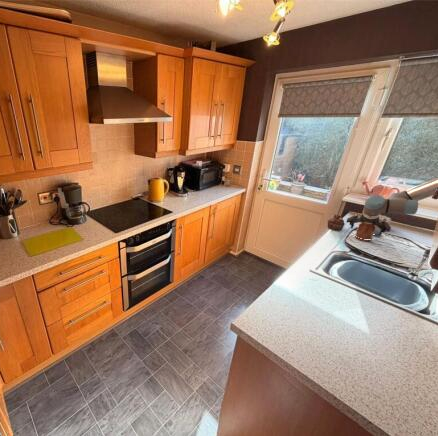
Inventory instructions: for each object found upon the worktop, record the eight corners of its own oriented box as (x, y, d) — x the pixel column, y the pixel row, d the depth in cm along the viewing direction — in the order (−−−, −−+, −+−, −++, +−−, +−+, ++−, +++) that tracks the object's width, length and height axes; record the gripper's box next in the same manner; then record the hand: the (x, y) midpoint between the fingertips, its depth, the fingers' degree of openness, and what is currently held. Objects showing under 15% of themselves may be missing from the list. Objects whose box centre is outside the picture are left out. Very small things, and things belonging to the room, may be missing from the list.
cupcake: (344, 232, 158) (349, 218, 154) (327, 230, 162) (331, 216, 158) (340, 227, 166) (345, 214, 162) (324, 225, 170) (328, 212, 166)
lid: (367, 230, 160) (368, 228, 159) (382, 235, 153) (383, 232, 153) (361, 232, 157) (362, 230, 156) (376, 237, 150) (377, 235, 149)
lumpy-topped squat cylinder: (387, 227, 165) (392, 215, 162) (387, 233, 156) (392, 221, 153) (368, 223, 171) (372, 212, 168) (367, 228, 163) (371, 217, 159)
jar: (374, 240, 146) (380, 223, 142) (365, 242, 144) (371, 225, 140) (360, 235, 154) (366, 219, 149) (351, 236, 152) (357, 220, 147)
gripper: (341, 214, 141) (339, 229, 156) (399, 225, 124) (391, 241, 139) (346, 203, 142) (343, 219, 157) (404, 214, 125) (395, 231, 140)
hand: (365, 230), depth 148 cm, fingers open, 13 cm apart
